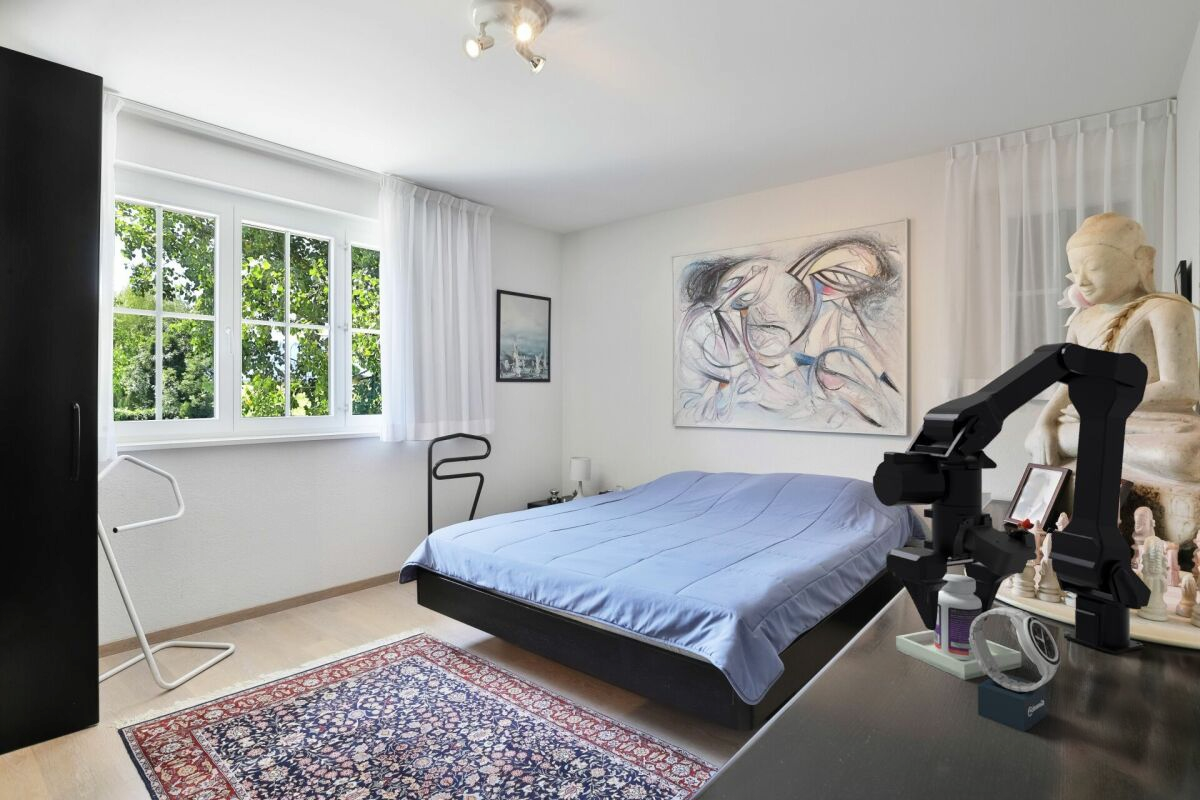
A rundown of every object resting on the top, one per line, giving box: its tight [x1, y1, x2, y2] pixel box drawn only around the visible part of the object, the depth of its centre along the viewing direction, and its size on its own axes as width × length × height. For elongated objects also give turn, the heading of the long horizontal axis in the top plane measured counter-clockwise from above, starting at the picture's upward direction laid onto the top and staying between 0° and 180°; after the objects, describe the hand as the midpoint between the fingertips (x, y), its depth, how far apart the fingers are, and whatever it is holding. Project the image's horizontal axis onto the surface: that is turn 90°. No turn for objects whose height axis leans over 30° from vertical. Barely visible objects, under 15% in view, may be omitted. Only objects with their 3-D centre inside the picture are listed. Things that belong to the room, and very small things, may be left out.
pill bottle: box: [934, 573, 983, 661], centre depth 82 cm, size 5×5×10 cm
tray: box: [895, 629, 1022, 681], centre depth 82 cm, size 10×10×2 cm
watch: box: [969, 606, 1061, 732], centre depth 67 cm, size 6×8×11 cm
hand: (956, 624), depth 82 cm, fingers open, 9 cm apart
